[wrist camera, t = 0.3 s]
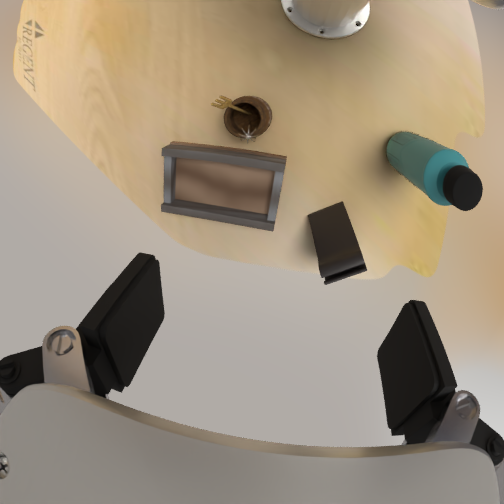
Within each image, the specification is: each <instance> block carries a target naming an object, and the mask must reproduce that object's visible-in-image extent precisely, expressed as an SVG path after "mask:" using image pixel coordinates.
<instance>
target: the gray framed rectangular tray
mask: <svg viewBox="0 0 504 504" xmlns="http://www.w3.org/2000/svg"><path fill="white" fill-rule="evenodd" d="M162 156H164V203H163V204H161V212H167V213H173V214H179V215H185V216H191V217H197V218H202V219H208V220H214V221H219V222H225V223H231V224H236V225H242V226H247V227H252V228H258V229H263V230H268V231H273V230H274V224H275V219H276V214H277V208H278V203H279V197H280V192H281V186H282V181H283V175H284V170H285V164H286V158H287V157H286V156H281V155H275V154H269V153H263V152H257V151H251V150H244V149H237V148H230V147H222V146H214V145H205V144H195V143H185V142H171V143H170V145H168V146H166V147H163V148H162Z"/></svg>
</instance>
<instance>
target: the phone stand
mask: <svg viewBox="0 0 504 504" xmlns="http://www.w3.org/2000/svg"><path fill="white" fill-rule="evenodd" d="M308 217H309V221H310V225H311V229H312V234H313V238H314V243H315V247H316V252H317V256H318V263H319V271H320V274H321V277H322V278H323V277H325V281H324V284H325V285H327V284H330V283H333V282H336V281H338V280H342V279H345V278H347V277H350V276H353V275H356V274H359V273H362V272H365V271H367V268H366V265H365V262H364V259H363V256H362V253H361V250H360V247H359V244H358V241H357V238H356V236H355V233H354V230H353V227H352V225H351V222H350V219H349V217H348V214H347V211H346V209H345V206H344V204H343V202H341V203H338V204H335V205H333V206H330V207H328V208H325V209H322V210H320V211H317V212H315V213H312V214H310V215H308Z"/></svg>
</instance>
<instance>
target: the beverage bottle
mask: <svg viewBox="0 0 504 504" xmlns="http://www.w3.org/2000/svg"><path fill="white" fill-rule="evenodd" d="M412 133H413V132H412ZM412 133H409V132H400V133H397V134H395V135H393V137H391V139H390V140H389V142H388V145H387V154H386V155H387V157H388V161H389V162H390V165H392V166H393V167H394V168H395V169H396V170H397V171H398V172H400V175H401V174H402V175H403V176H405V177H406V178H407V179H408V181H409V182H410V181H411V183H413V185H415V186H416V188H417V187H418V188H419V189H420V190H422V191H423V192H424V193H425V194H426V195H427V196H428V197H429V198H430V199H431V200H432V201H433V202H435V203H436V204H439V205H443V206H448V205H454V206H455V207H457V208H458V209H460V210H463V211H468V210H471V209H473V208H474V207H475V206H476V205H477V204H478V202H479V201H480V199H481V196H482V190H483V188H482V183H481V180H480V178H479V177H478V176H477V174H475V173H474V172H473V171H472V170H471V169H469V167H468V164H467V162H466V160H465V158H464V157H463V156H462V155H461V154H460V153H459V152H457V151H455V150H453V149H449V148H447V147H445V146H443V145H440V144H438V143H436V142H437V141H436V142H435V141H433V140H432V141H431V140H429V138H428V139H427V137H426V138H424V137H421V136H419V135H415V134H412ZM407 179H406V180H407Z"/></svg>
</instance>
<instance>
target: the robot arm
mask: <svg viewBox="0 0 504 504" xmlns="http://www.w3.org/2000/svg"><path fill="white" fill-rule="evenodd" d="M369 1H370V0H281V3H282V7H283V10H284V12H285V14H286V16H287V17H288V18H289V20H290V21H291V22H292V23H293V24H294V25H296V26H297V27H298V28H299V29H301V30H303V31H305V32H306V33H309V34H311V35H314V36H317V37H321V38H329V39H336V38H344V37H348V36H350V35H353V34H355V33H356V32H358V31H359V30H360V29H361V28H362V27H363V26H364V25H365V24H366V22H367V21H368V18H369V15H370V4H369ZM471 1H474V2H475V3H477V4H480V5H482V6H484V7H487V8H491V9H504V0H471ZM289 10H291V11H292V12H288V11H289ZM355 24H358V26H356V25H355ZM321 31H322V32H323V34H321V33H320V32H321ZM163 319H164V305H163V296H162V287H161V277H160V267H159V261H158V260H156V259H155V256H153V255H150V254H145V253H139V254H137V255H136V257H135V258H134V259H133V260H132V261H131V262H130V263H129V265H128V266H127V267H126V268H125V269H124V270H123V272H122V273H121V274H120V275H119V276H118V278H117V279H116V280H115V281H114V282H113V283H112V284H111V285H110V287H109V288H108V289H107V290H106V291H105V293H104V294H103V295H102V296H101V298H100V299H99V300H98V301H97V303H96V304H95V305H94V306H93V308H92V309H91V310H90V312H89V313H88V314H87V315H86V317H85V318H84V319H83V321H82V322H81V323H80V324H79V326H78V327H77V328H76V329H74V328H72V327H70V326H59V327H56V328H54V329H52V330H51V331H49V333H48V334H47V335H46V336H45V338H44V340H43V345H42V346H41V347H37V348H34V349H30V350H27V351H24V352H20V353H17V354H13V355H10V356H7V357H4V358H3V359H2V360H0V504H504V440H503V438H502V437H501V436H500V435H499V434H498V433H497V432H496V431H494V430H493V429H492V428H491V427H489V426H488V425H487V424H486V423H484V422H483V421H482V420H481V419H480V418H479V414H480V405H479V403H478V401H477V399H476V397H475V396H474V395H473V394H472V393H470V392H468V391H465V390H461V391H458V392H455V388H456V387H457V383H456V380H455V377H454V374H453V371H452V368H451V365H450V362H449V360H448V357H447V354H446V352H445V349H444V346H443V344H442V341H441V339H440V336H439V334H438V331H437V329H436V327H435V324H434V322H433V319H432V317H431V315H430V312H429V310H428V308H427V306H426V304H425V302H423V301H416V300H410V301H409V303H406V304H405V305H404V306H403V308H402V310H401V312H400V313H399V315H398V317H397V319H396V321H395V323H394V324H393V326H392V328H391V329H390V331H389V333H388V335H387V336H386V338H385V340H384V341H383V343H382V344H381V346H380V348H379V350H378V355H377V357H378V363H379V368H380V374H381V381H382V387H383V394H384V400H385V408H386V415H387V424H388V427H389V428H390V429H391V433H392V436H395V435H405V440H404V442H403V443H402V445H398V446H381V447H318V446H303V445H292V444H282V443H274V442H266V441H259V440H253V439H246V438H240V437H235V436H230V435H225V434H220V433H216V432H211V431H207V430H202V429H198V428H194V427H190V426H187V425H183V424H179V423H176V422H173V421H169V420H166V419H163V418H160V417H157V416H153V415H150V414H147V413H144V412H141V411H138V410H135V409H133V408H130V407H127V406H124V405H122V404H119V403H116V402H114V401H111V400H109V397H108V394H109V392H110V390H111V389H114V390H116V391H119V392H122V391H123V389H124V387H125V386H126V387H128V386H129V385H130V383H131V381H132V379H133V377H134V375H135V373H136V371H137V369H138V367H139V365H140V364H141V362H142V360H143V357H144V356H145V354H146V352H147V350H148V348H149V346H150V344H151V342H152V340H153V338H154V336H155V334H156V333H157V331H158V329H159V327H160V325H161V323H162V321H163Z"/></svg>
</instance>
